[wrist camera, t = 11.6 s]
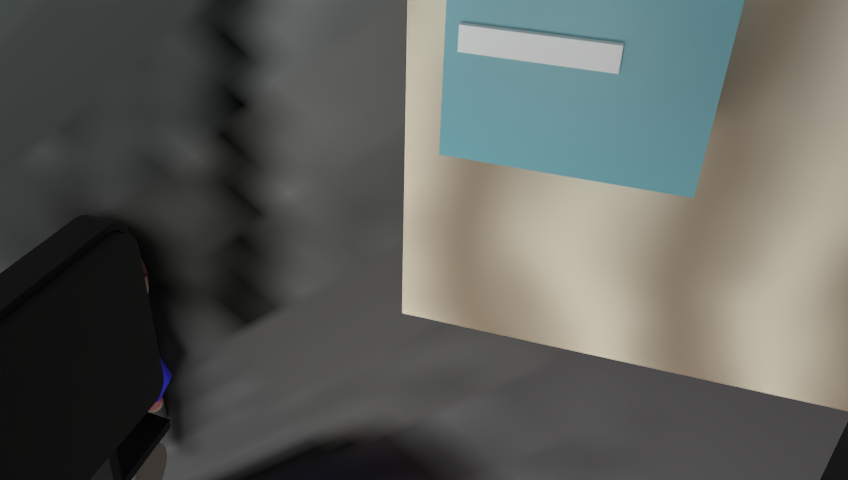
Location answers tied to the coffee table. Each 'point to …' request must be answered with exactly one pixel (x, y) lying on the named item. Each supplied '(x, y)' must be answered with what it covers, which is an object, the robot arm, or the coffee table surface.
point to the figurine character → (141, 442)
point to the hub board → (657, 225)
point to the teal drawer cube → (587, 86)
